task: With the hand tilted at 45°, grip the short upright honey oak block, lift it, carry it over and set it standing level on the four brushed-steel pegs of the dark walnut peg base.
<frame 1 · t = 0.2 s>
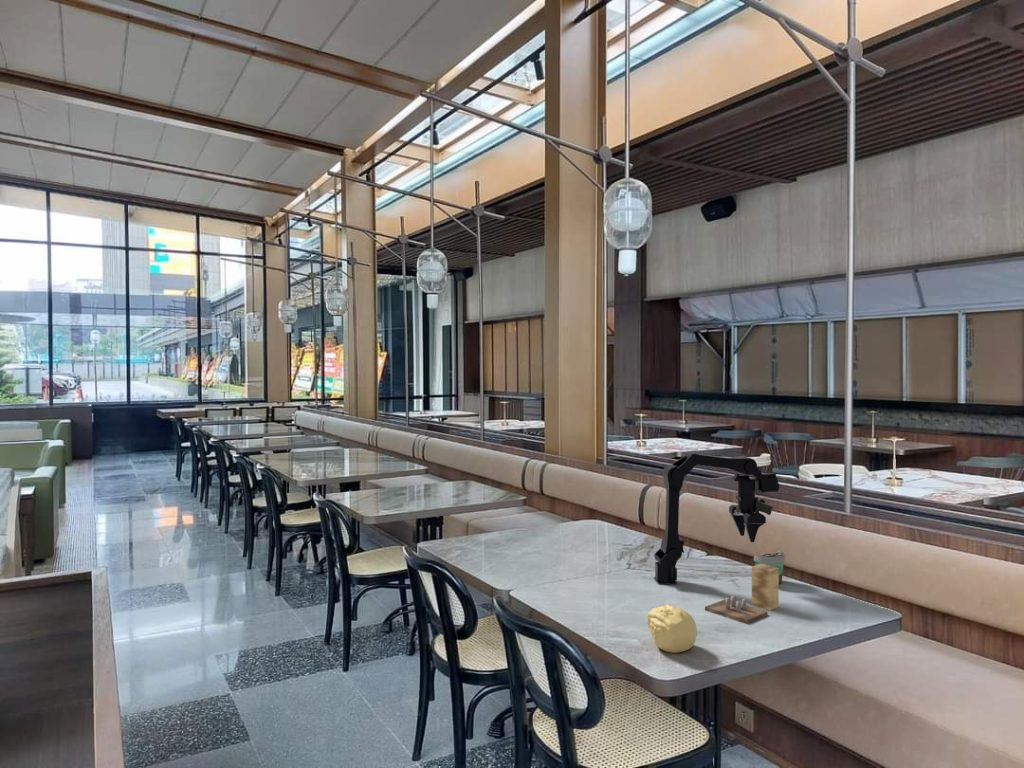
hand: (747, 538, 227), 14 cm above the table, tool pointing down, fingers open, 9 cm apart
food container: (773, 584, 224), on the table
peg base: (735, 612, 197), on the table
sculpture: (672, 648, 172), on the table
oak block: (765, 606, 202), on the table
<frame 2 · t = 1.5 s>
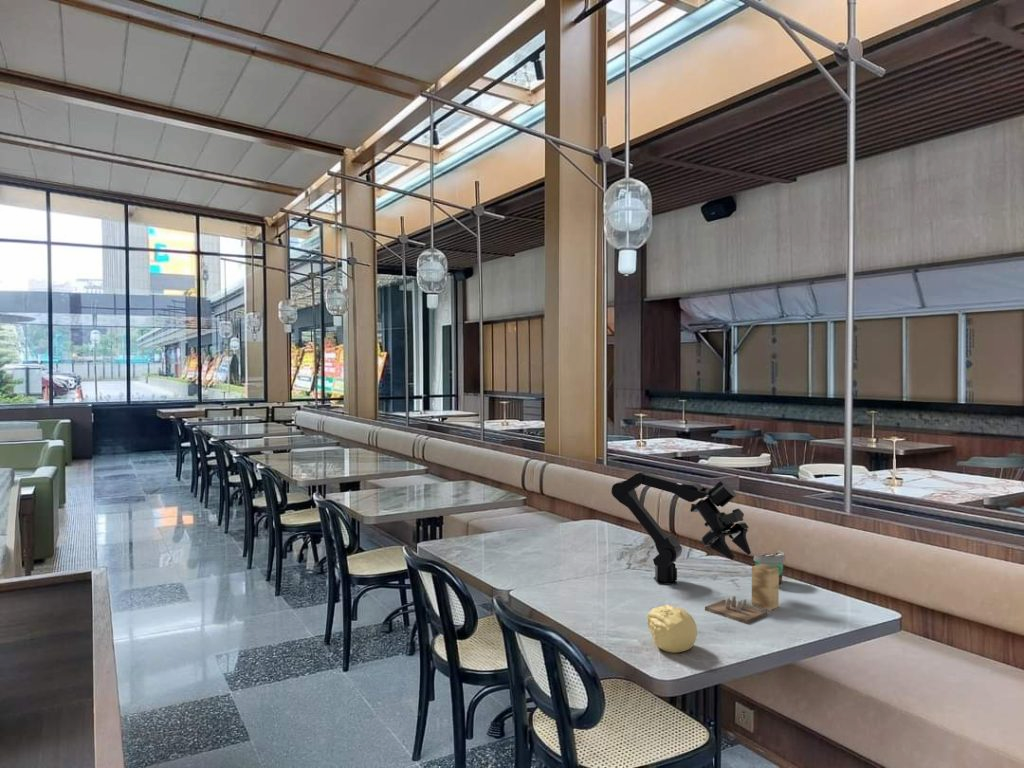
hand: (741, 556, 209), 13 cm above the table, tool tilted 45°, fingers open, 9 cm apart
nothing on the table moved.
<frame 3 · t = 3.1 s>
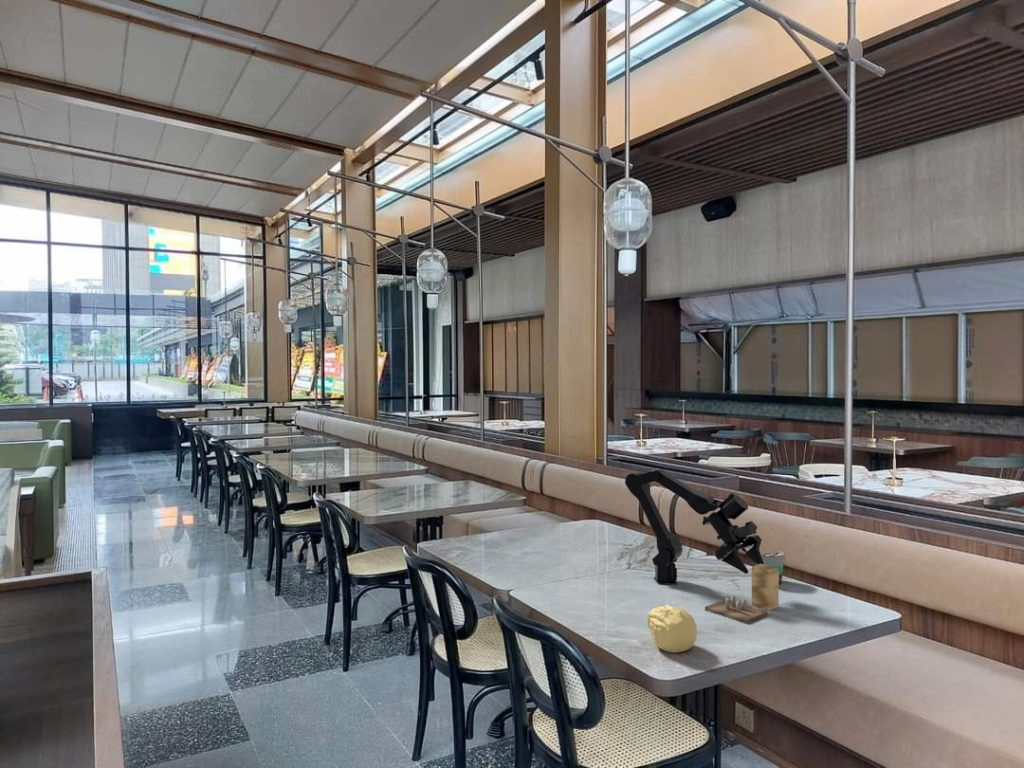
hand: (755, 570, 205), 10 cm above the table, tool tilted 45°, fingers open, 9 cm apart
nothing on the table moved.
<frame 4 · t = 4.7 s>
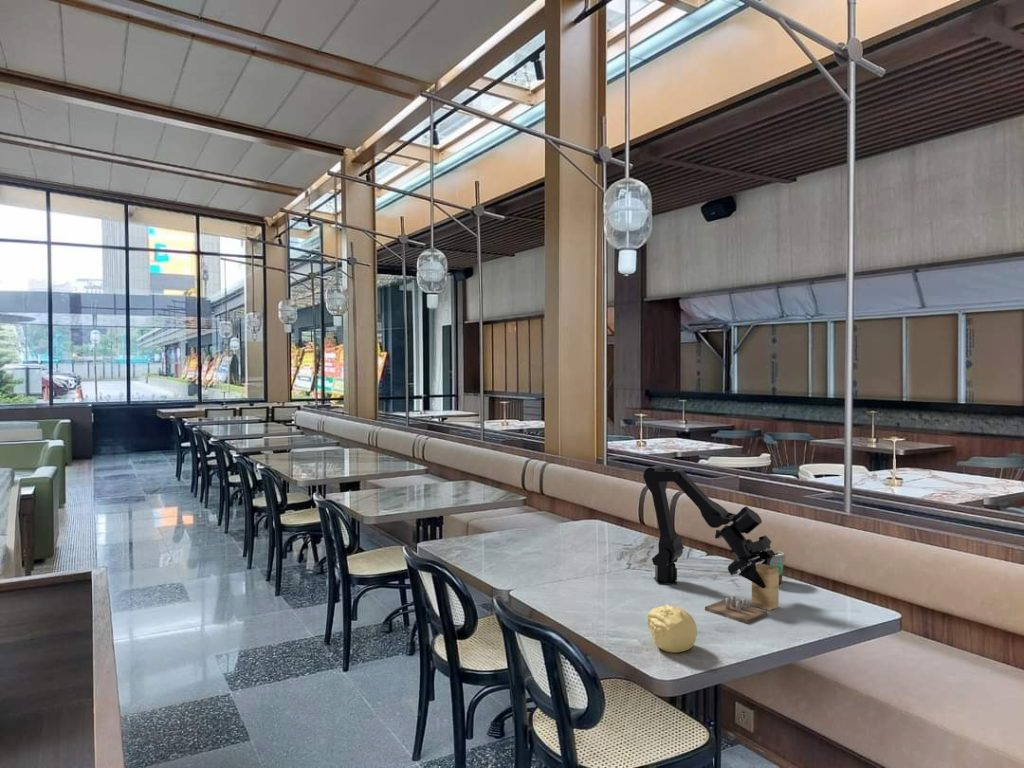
hand: (769, 585, 201), 7 cm above the table, tool tilted 45°, fingers closed on oak block, 5 cm apart
oak block: (765, 606, 202), on the table, touching gripper
everything else where it was.
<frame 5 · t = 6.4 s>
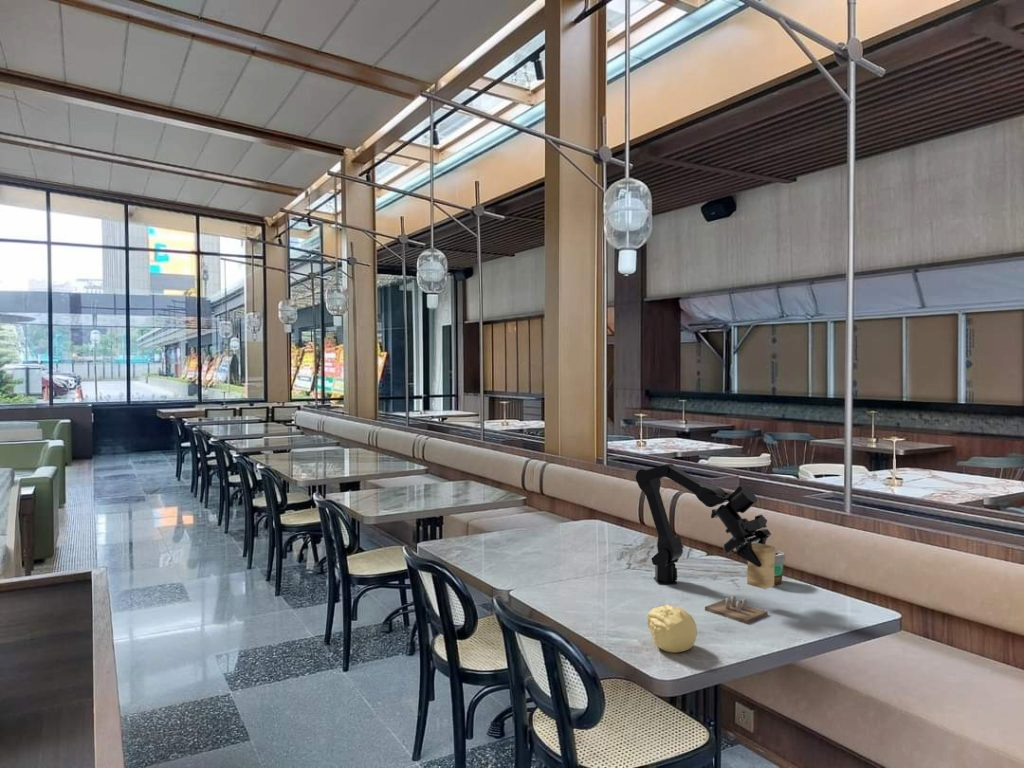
hand: (765, 564, 201), 13 cm above the table, tool tilted 45°, fingers closed on oak block, 5 cm apart
oak block: (760, 585, 202), point 7 cm above the table, touching gripper
everything else where it was.
when the fingers open (12 cm above the table, at t = 7.9 s): oak block stays where it is, resting on peg base.
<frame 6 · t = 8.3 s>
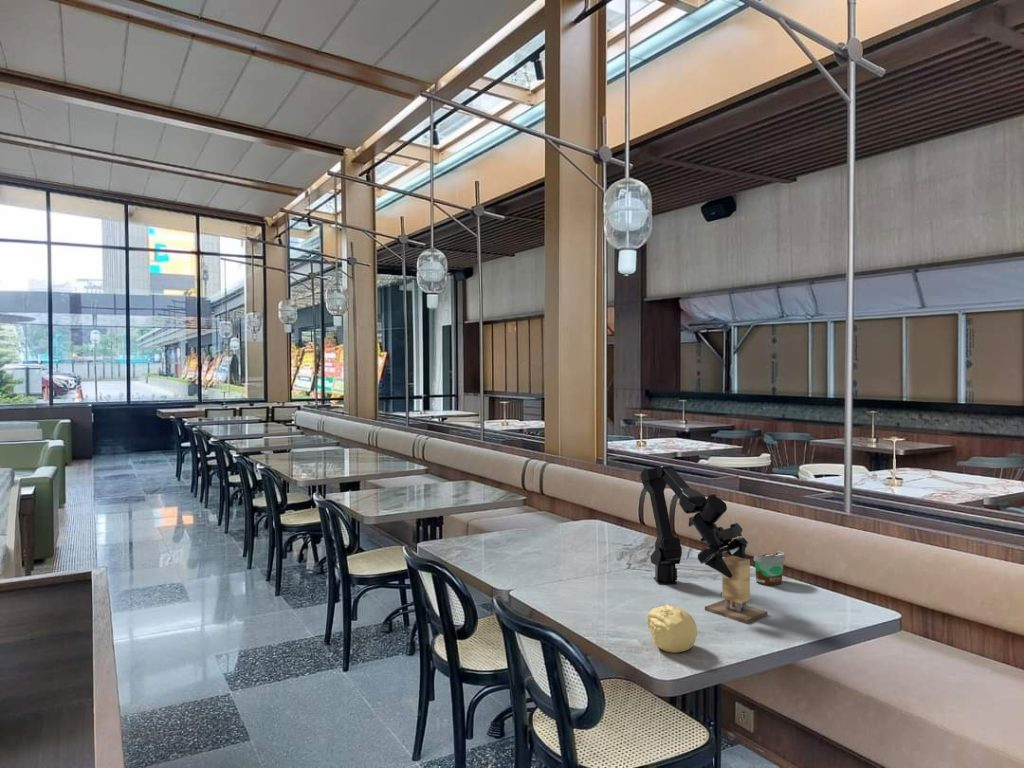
hand: (740, 574, 196), 12 cm above the table, tool tilted 45°, fingers open, 9 cm apart
oak block: (736, 599, 197), point 4 cm above the table, touching peg base
everything else where it was.
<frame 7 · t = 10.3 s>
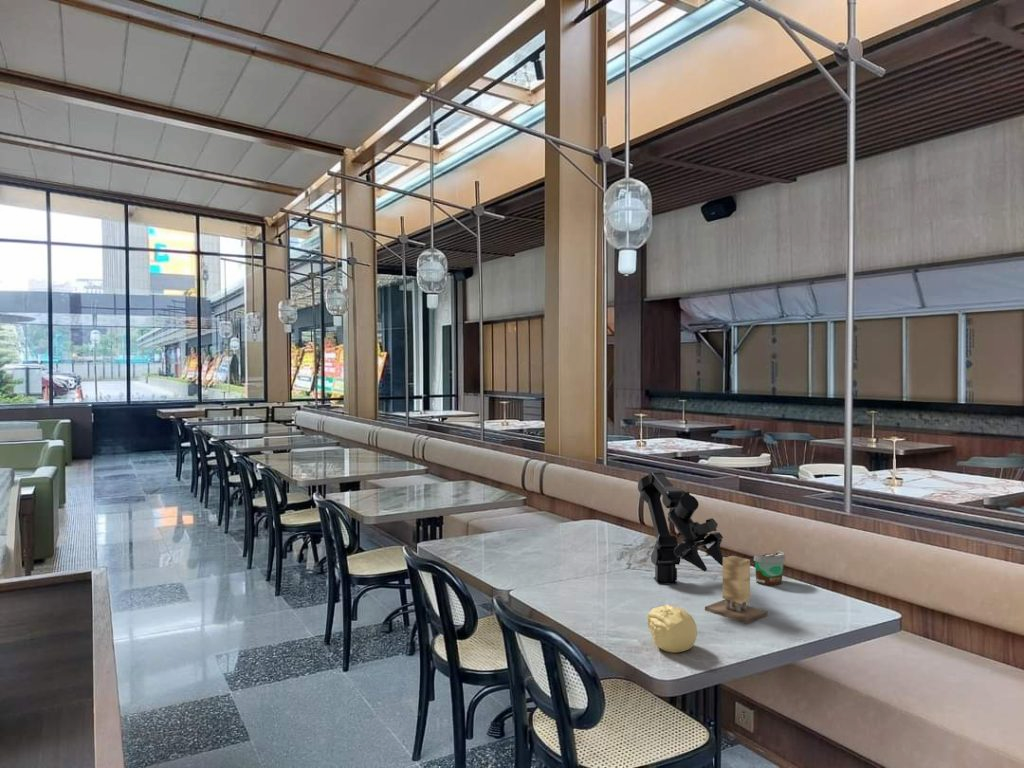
hand: (714, 567, 203), 12 cm above the table, tool tilted 45°, fingers open, 9 cm apart
nothing on the table moved.
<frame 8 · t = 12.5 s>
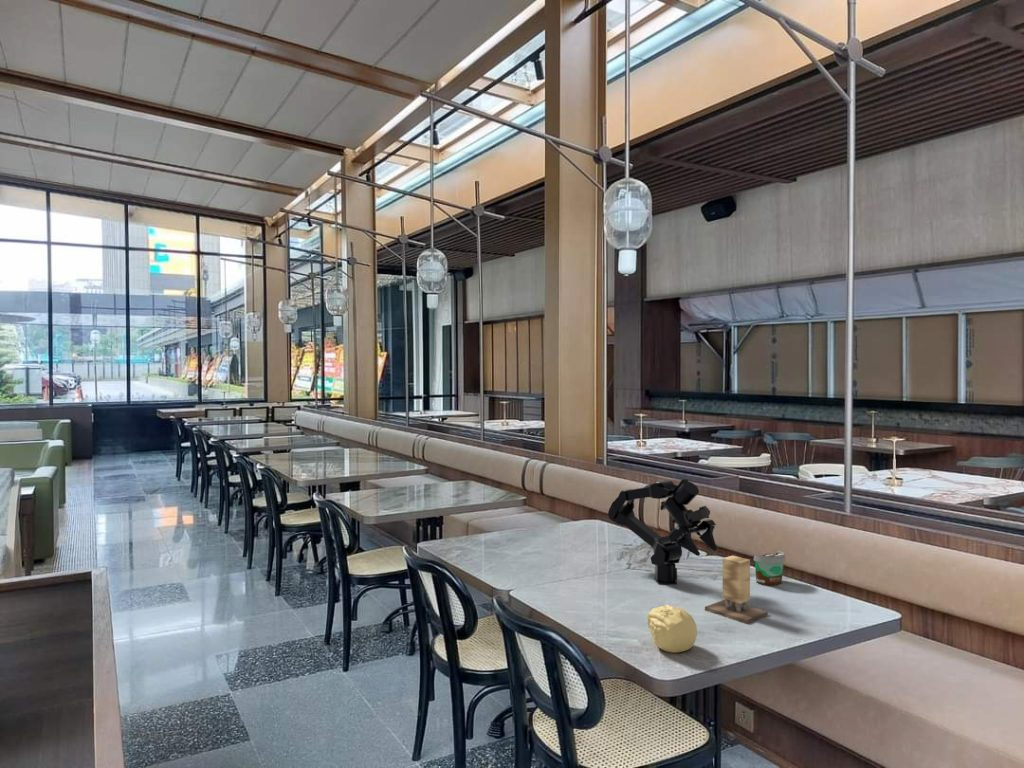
hand: (707, 552, 212), 14 cm above the table, tool tilted 45°, fingers open, 9 cm apart
nothing on the table moved.
at the end: oak block 0.0 cm off-centre on the peg base, point 4.0 cm above the peg base's base; oak block tilted 0°; the gripper is holding nothing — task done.
